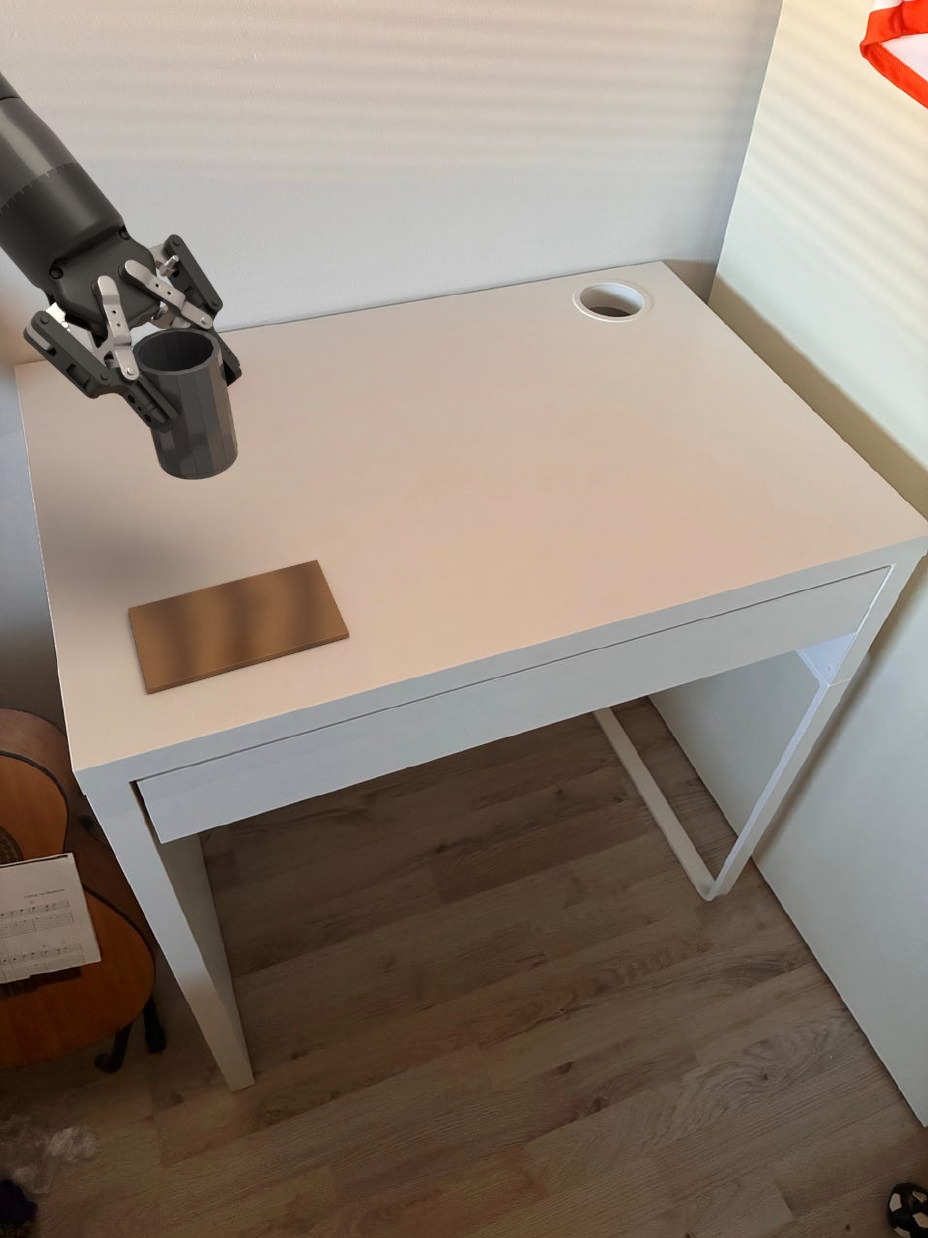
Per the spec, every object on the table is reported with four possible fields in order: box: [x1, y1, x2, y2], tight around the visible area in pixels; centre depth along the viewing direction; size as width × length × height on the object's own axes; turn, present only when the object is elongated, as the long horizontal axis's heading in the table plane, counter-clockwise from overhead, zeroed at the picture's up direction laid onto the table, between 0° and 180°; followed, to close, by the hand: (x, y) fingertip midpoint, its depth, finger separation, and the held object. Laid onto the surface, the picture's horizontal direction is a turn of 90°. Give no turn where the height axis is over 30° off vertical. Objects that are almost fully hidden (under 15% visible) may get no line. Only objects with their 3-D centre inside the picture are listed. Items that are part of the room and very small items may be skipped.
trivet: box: [127, 559, 350, 695], centre depth 77 cm, size 16×9×1 cm, turn 112°
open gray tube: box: [132, 328, 239, 481], centre depth 69 cm, size 6×6×9 cm
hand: (204, 403), depth 68 cm, fingers closed on open gray tube, 6 cm apart
